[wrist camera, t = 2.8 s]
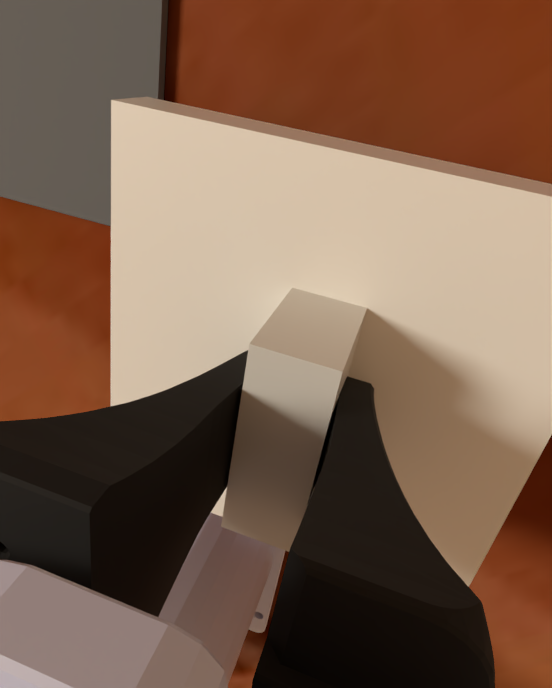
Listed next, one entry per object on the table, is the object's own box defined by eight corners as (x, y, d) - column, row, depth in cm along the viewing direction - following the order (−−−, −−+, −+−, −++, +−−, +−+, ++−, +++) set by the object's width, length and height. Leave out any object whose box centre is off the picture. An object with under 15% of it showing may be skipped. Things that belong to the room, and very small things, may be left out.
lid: (459, 559, 17) (460, 710, 13) (135, 446, 19) (50, 546, 15) (641, 203, 11) (744, 276, 7) (147, 96, 13) (13, 107, 9)
